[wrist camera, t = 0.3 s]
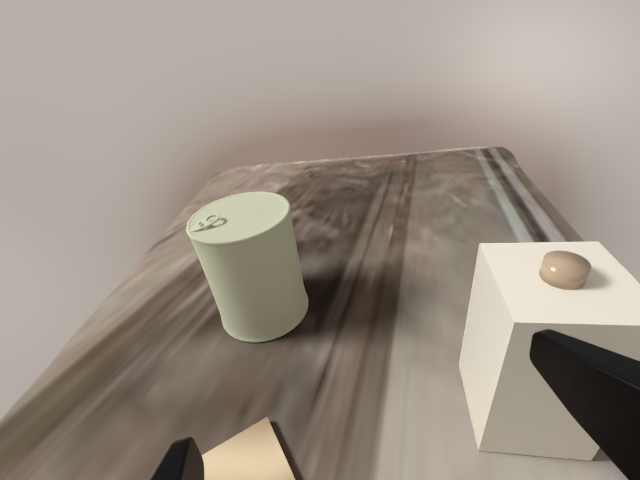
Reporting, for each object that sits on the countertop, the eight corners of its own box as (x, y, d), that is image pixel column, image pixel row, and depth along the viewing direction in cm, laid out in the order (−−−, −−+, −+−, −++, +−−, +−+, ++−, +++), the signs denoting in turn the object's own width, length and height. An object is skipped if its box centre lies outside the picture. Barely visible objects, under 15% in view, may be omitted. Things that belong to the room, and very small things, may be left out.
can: (212, 302, 37) (174, 207, 31) (285, 270, 41) (265, 178, 34) (238, 359, 30) (196, 252, 24) (324, 314, 34) (308, 209, 27)
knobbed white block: (590, 460, 21) (692, 309, 14) (478, 450, 22) (518, 306, 15) (547, 369, 26) (604, 226, 19) (458, 365, 27) (481, 229, 20)
